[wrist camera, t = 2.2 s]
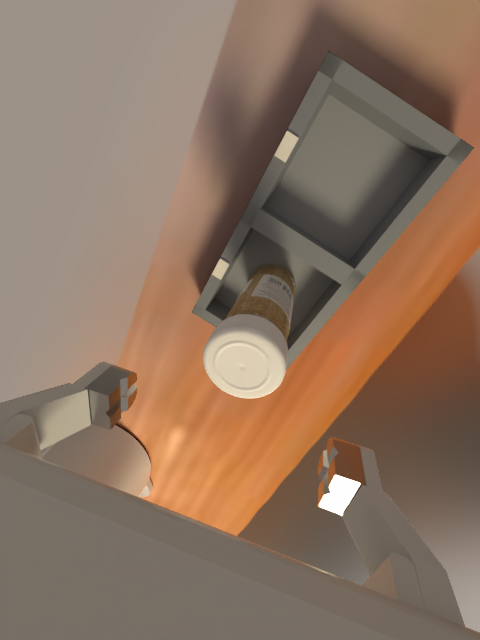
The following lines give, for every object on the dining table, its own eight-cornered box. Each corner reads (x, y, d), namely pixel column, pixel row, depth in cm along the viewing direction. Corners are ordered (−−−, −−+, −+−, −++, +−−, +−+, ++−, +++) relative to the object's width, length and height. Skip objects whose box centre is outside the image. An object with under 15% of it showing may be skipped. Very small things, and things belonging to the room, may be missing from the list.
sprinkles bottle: (239, 278, 27) (184, 350, 15) (281, 254, 25) (255, 313, 13) (264, 317, 28) (230, 412, 16) (305, 296, 26) (302, 386, 14)
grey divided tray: (288, 350, 29) (285, 371, 26) (204, 299, 29) (190, 313, 26) (448, 154, 20) (476, 147, 17) (325, 73, 19) (328, 49, 16)
